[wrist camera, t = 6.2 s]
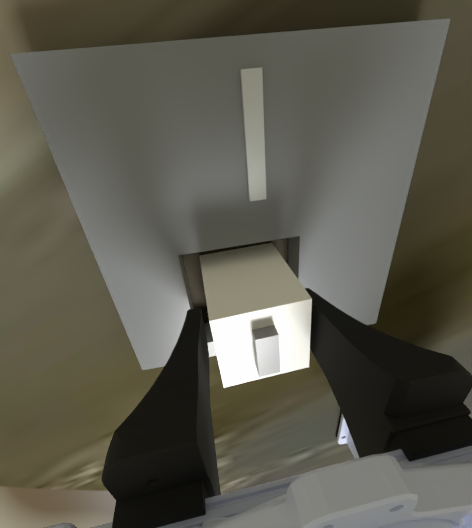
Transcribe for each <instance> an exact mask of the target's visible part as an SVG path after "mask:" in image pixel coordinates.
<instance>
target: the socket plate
mask: <svg viewBox="0 0 472 528" xmlns="http://www.w3.org/2000/svg"><path fill="white" fill-rule="evenodd" d="M450 19H451V18H449V19H436V20H424V21H411V22H399V23H387V24H374V25H362V26H349V27H337V28H324V29H312V30H300V31H287V32H275V33H262V34H250V35H237V36H225V37H213V38H200V39H188V40H175V41H163V42H150V43H138V44H126V45H113V46H101V47H88V48H76V49H63V50H51V51H39V52H26V53H14V54H10V56H11V58H12V60H13V63H14V65H15V68H16V70H17V72H18V75H19V77H20V79H21V82H22V84H23V87H24V89H25V91H26V94H27V96H28V98H29V101H30V103H31V106H32V108H33V110H34V113H35V115H36V118H37V120H38V122H39V125H40V127H41V129H42V132H43V134H44V137H45V139H46V141H47V144H48V146H49V149H50V151H51V153H52V156H53V158H54V160H55V163H56V165H57V168H58V170H59V172H60V175H61V177H62V180H63V182H64V184H65V187H66V189H67V191H68V194H69V196H70V199H71V201H72V203H73V206H74V208H75V211H76V213H77V215H78V218H79V220H80V222H81V225H82V227H83V230H84V232H85V234H86V237H87V239H88V241H89V244H90V246H91V249H92V251H93V253H94V256H95V258H96V261H97V263H98V265H99V268H100V270H101V272H102V275H103V277H104V280H105V282H106V284H107V287H108V289H109V292H110V294H111V296H112V299H113V301H114V303H115V306H116V308H117V311H118V313H119V315H120V318H121V320H122V323H123V325H124V327H125V330H126V332H127V334H128V337H129V339H130V342H131V344H132V346H133V349H134V351H135V354H136V356H137V358H138V361H139V363H140V365H141V368H142V370H147V369H152V368H157V367H162V366H165V365H166V363H167V361H168V359H169V357H170V355H171V353H172V351H173V349H174V347H175V345H176V343H177V340H178V338H179V335H180V333H181V330H182V327H183V325H184V321H185V318H186V314H187V311H188V310H189V309H194V308H193V303H192V299H191V294H190V290H189V285H188V281H187V276H186V272H185V268H184V263H183V259H182V255H185V254H191V253H197V252H203V251H210V250H216V249H222V248H228V247H235V246H241V245H247V244H253V243H259V242H266V241H272V240H278V239H284V238H288V266H289V267H290V269H291V270H292V272H293V273H294V274H295V276H296V277H297V279H298V280H299V281H300V283H301V284H302V286H303V287H304V288H309V289H311V290H312V291H314V292H315V293H317V294H318V295H319V296H321V297H322V298H324V299H325V300H326V301H328V302H329V303H331V304H332V305H334V306H335V307H337V308H338V309H340V310H341V311H343V312H344V313H346V314H348V315H349V316H351V317H353V318H354V319H356V320H358V321H360V322H362V323H363V324H365V325H371V324H375V323H376V322H377V318H378V313H379V309H380V305H381V301H382V297H383V293H384V289H385V285H386V281H387V277H388V273H389V269H390V264H391V260H392V256H393V252H394V248H395V244H396V240H397V236H398V232H399V228H400V224H401V220H402V215H403V211H404V207H405V203H406V199H407V195H408V191H409V187H410V183H411V179H412V175H413V171H414V166H415V162H416V158H417V154H418V150H419V146H420V142H421V138H422V134H423V130H424V126H425V122H426V117H427V113H428V109H429V105H430V101H431V97H432V93H433V89H434V85H435V81H436V77H437V73H438V68H439V64H440V60H441V56H442V52H443V48H444V44H445V40H446V36H447V32H448V28H449V23H450ZM204 326H205V331H206V336H207V343H208V351H209V357H211V356H216V355H217V354H216V350H215V345H214V341H213V336H212V332H211V327H210V323H204Z"/></svg>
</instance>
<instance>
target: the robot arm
mask: <svg viewBox="0 0 472 528" xmlns="http://www.w3.org/2000/svg"><path fill="white" fill-rule="evenodd" d="M305 290H306V291H307V292H308V294H309V295H310V297H311V298H312V311H311V333H310V349H311V351H312V352H313V354H314V356H315V358H316V359H317V361H318V363H319V365H320V366H321V368H322V370H323V372H324V374H325V376H326V377H327V379H328V382H329V384H330V386H331V388H332V391H333V393H334V395H335V397H336V400H337V402H338V405H339V407H340V409H341V412H342V416H341V421H340V426H339V431H338V436H337V442H338V444H344V443H347V444H348V446H349V448H350V450H351V452H352V454H353V456H354V458H355V459H354V460H350V461H346V462H342V463H338V464H334V465H330V466H326V467H322V468H318V469H314V470H312V471H309V472H306V473H304V474H300V475H296V476H292V477H288V478H285V479H281V480H277V481H273V482H269V483H265V484H261V485H257V486H253V487H249V488H245V489H241V490H237V491H233V492H229V493H225V494H222V495H221V493H220V485H219V477H218V469H217V460H216V452H215V443H214V435H213V426H212V417H211V408H210V386H209V351H208V343H207V336H206V331H205V326H204V321H203V316H202V311H201V307H200V308H194V309H189V310H188V311H187V314H186V318H185V321H184V325H183V327H182V330H181V333H180V335H179V338H178V340H177V343H176V345H175V347H174V349H173V351H172V353H171V355H170V357H169V359H168V361H167V363H166V365H165V367H164V368H163V370H162V372H161V373H160V375H159V376H158V378H157V380H156V381H155V383H154V384H153V386H152V387H151V388H150V390H149V391H148V393H147V394H146V395H145V396H144V398H143V399H142V400H141V402H140V403H139V404H138V406H137V407H136V408H135V409H134V410H133V412H132V413H131V414H130V415H129V416H128V417H127V418H126V420H125V421H124V422H123V423H122V424H121V425H120V426H119V427H118V428H117V430H116V431H115V432H114V434H113V437H112V440H111V443H110V446H109V449H108V452H107V455H106V460H105V465H104V469H103V474H102V482H103V484H104V486H105V487H106V488H107V490H108V491H109V492H110V493H111V495H113V497H114V498H115V499H116V506H115V512H114V518H113V522H111V523H107V524H103V525H100V526H96V527H92V528H472V419H471V418H470V417H469V416H468V415H469V414H470V413H471V412H470V410H469V409H468V408H467V407H466V406H465V405H464V403H463V402H464V400H465V398H466V397H467V395H468V393H469V392H470V390H471V388H472V375H471V373H469V372H468V371H467V370H466V369H465V368H464V367H463V366H462V365H461V364H460V363H459V362H457V361H456V360H455V359H454V358H453V357H452V356H449V355H445V354H442V353H438V352H435V351H431V350H427V349H424V348H421V347H418V346H415V345H412V344H409V343H407V342H404V341H401V340H399V339H396V338H394V337H391V336H389V335H386V334H384V333H382V332H380V331H377V330H375V329H373V328H371V327H369V326H367V325H365V324H363V323H362V322H360V321H358V320H356V319H354V318H353V317H351V316H349V315H348V314H346V313H344V312H343V311H341V310H340V309H338V308H337V307H335V306H334V305H332V304H331V303H329V302H328V301H326V300H325V299H324V298H322V297H321V296H319V295H318V294H317V293H315V292H314V291H312V290H311V289H309V288H305ZM45 528H77V527H76V526H75V525H73V524H71V523H62V524H57V525H53V526H49V527H45Z"/></svg>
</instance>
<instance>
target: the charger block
mask: <svg viewBox="0 0 472 528" xmlns="http://www.w3.org/2000/svg"><path fill="white" fill-rule="evenodd" d="M199 257H200V264H201V270H202V277H203V283H204V290H205V297H206V303H207V310H208V317H209V323H210V327H211V332H212V336H213V341H214V345H215V350H216V354H217V359H218V363H219V368H220V373H221V377H222V382H223V386H224V388H225V387H229V386H233V385H237V384H241V383H245V382H249V381H253V380H257V379H261V378H266V377H270V376H274V375H278V374H282V373H286V372H290V371H294V370H298V369H302V368H306V367H309V355H310V333H311V311H312V298H311V297H310V295H309V294H308V292H307V291H306V290H305V288H304V287H303V286H302V284H301V283H300V281H299V280H298V279H297V277H296V276H295V274H294V273H293V272H292V270H291V269H290V267H289V266H288V265H287V263H286V262H285V260H284V259H283V258H282V256H281V255H280V253H279V252H278V251H277V249H276V248H275V246H274V245H273V244H272V243H267V244H261V245H256V246H250V247H245V248H239V249H234V250H228V251H223V252H217V253H212V254H206V255H201V256H199Z"/></svg>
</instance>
